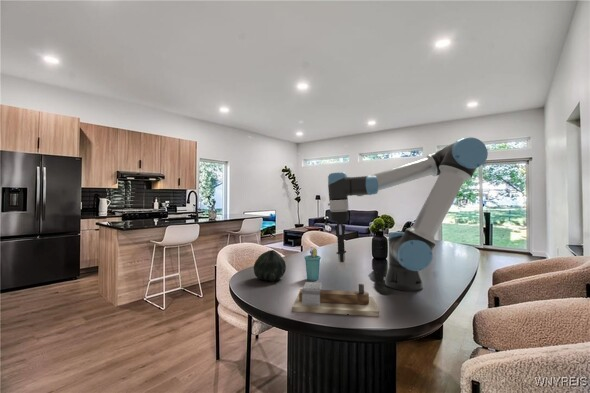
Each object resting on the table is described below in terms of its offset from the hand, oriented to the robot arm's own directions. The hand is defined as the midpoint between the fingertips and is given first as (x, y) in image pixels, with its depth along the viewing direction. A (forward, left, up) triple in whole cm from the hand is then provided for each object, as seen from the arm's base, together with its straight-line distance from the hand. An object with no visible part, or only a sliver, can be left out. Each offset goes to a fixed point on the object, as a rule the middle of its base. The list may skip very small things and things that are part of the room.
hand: (342, 269), depth 111 cm
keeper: (+11, +15, -8) cm, 20 cm away
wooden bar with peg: (+3, +14, -8) cm, 17 cm away
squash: (+34, -16, -10) cm, 38 cm away
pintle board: (+3, +14, -9) cm, 17 cm away
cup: (+14, -18, -10) cm, 24 cm away
